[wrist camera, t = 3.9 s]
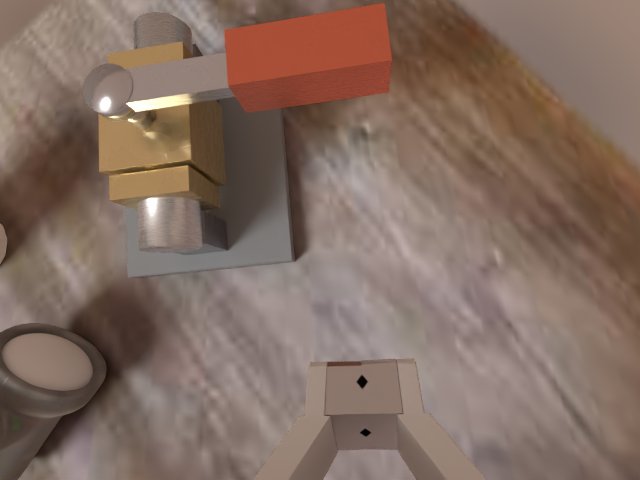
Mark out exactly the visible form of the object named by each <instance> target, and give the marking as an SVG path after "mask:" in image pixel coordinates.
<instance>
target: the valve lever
mask: <svg viewBox="0 0 640 480" xmlns="http://www.w3.org/2000/svg"><path fill="white" fill-rule="evenodd" d="M225 47H226V52H225V53H218V54H212V55H206V56H200V57H194V58H188V59H182V60H176V61H169V62H163V63H157V64H151V65H145V66H139V67H133V68H127V69H124V68H123V67H122V66H120V65H117V64H110V63H109V64H103V65H101V66H98V67H97V68H95V69H94V70H93V71H91V73H90V74H89V75H88V76H87V78H86V80H85V82H84V85H83V98H84V100H85V102H86V104H87V105H88V106H89V107H90V108H91V109H93V110H94V111H96V112H97V113H98V114H100V115H101V116H103V117H104V118H106V119H108V120H110V121H113V122H122V121H126V120H128V119H130V118H132V117H133V116H134V115H135V114H136V113H137V112H138V111H145V110H152V109H158V108H165V107H172V106H178V105H185V104H192V103H198V102H205V101H211V100H218V99H225V98H231V97H236V98H237V100H238V101H239V103H240V104H241V106H242V107H243V109H244V110H245V112H246V113H251V112H258V111H264V110H271V109H278V108H285V107H292V106H299V105H305V104H312V103H319V102H326V101H333V100H340V99H347V98H353V97H360V96H367V95H374V94H381V93H388V92H389V83H390V73H391V64H392V57H391V49H390V41H389V34H388V26H387V18H386V11H385V3H381V4H375V5H369V6H364V7H358V8H352V9H346V10H340V11H334V12H328V13H322V14H316V15H311V16H305V17H299V18H293V19H287V20H281V21H275V22H269V23H263V24H257V25H252V26H246V27H240V28H234V29H228V30H225Z"/></svg>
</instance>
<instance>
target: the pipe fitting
mask: <svg viewBox="0 0 640 480" xmlns="http://www.w3.org/2000/svg"><path fill="white" fill-rule="evenodd" d="M105 377H106V363H105V360H104V358H103V356H102V355H101V353H100V352H99V351H98V350H97V348H96V347H95V346H93V345H92V344H91V343H90V342H88V341H87V340H85V339H84V338H82V337H80V336H79V335H77V334H75V333H73V332H71V331H68V330H66V329H63V328H60V327H56V326H52V325H48V324H40V323H29V324H22V325H17V326H14V327H11V328H8V329H6V330H4V331H2V332H1V333H0V480H18V478H19V477H20V476H21V475H22V473H23V472H24V471H25V469H26V468H27V467H28V465H29V464H30V462H31V461H32V459H33V458H34V456H35V455H36V453H37V452H38V450H39V449H40V448H41V446H42V445H43V443H44V442H45V440H46V439H47V437H48V436H49V434H50V433H51V431H52V430H53V429H54V427H55V426H56V424H57V423H58V421H59V420H60V418H61V417H62V415H66V414H69V413H72V412H74V411H77V410H78V409H80V408H82V407H83V406H84V405H85V404H87V403H88V402H89V401H90V399H91V398H92V397H93V396H94V394H95V393H96V391H97V390H98V389H99V387H100V386H101V384H102V383H103V381H104V379H105Z"/></svg>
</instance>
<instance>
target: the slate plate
mask: <svg viewBox="0 0 640 480" xmlns="http://www.w3.org/2000/svg"><path fill="white" fill-rule="evenodd" d="M219 104H220V106H221V107H222V124H223V141H224V158H225V174H226V186H223V187H219V192H220V209H214V210H206V212H208V213H209V214H211V215H213V216H215V217H217V218H219V219H221V220H223V221H225V222H226V223H227V240H228V251H222V252H213V253H204V254H195V255H182V254H177V253H152V252H143V251H140V250H139V246H138V211H137V210H134V209H132V208H129V207H126V222H127V272H128V277H130V278H143V277H153V276H162V275H172V274H181V273H191V272H201V271H210V270H220V269H229V268H239V267H249V266H258V265H268V264H277V263H287V262H295V254H294V242H293V230H292V218H291V206H290V194H289V182H288V170H287V158H286V146H285V134H284V122H283V110H282V108H278V109H271V110H264V111H258V112H251V113H246V112H245V110H244V109H243V107H242V106H241V104H240V103H239V101H238V100H237V98H236V97H231V98H225V99H219Z"/></svg>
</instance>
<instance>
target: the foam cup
mask: <svg viewBox="0 0 640 480" xmlns="http://www.w3.org/2000/svg"><path fill="white" fill-rule="evenodd" d="M6 247H7V237H6V234H5V230H4V227H3V225H2V224H0V264H1V262H2V260H3V258H4V257H5V255H6Z"/></svg>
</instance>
